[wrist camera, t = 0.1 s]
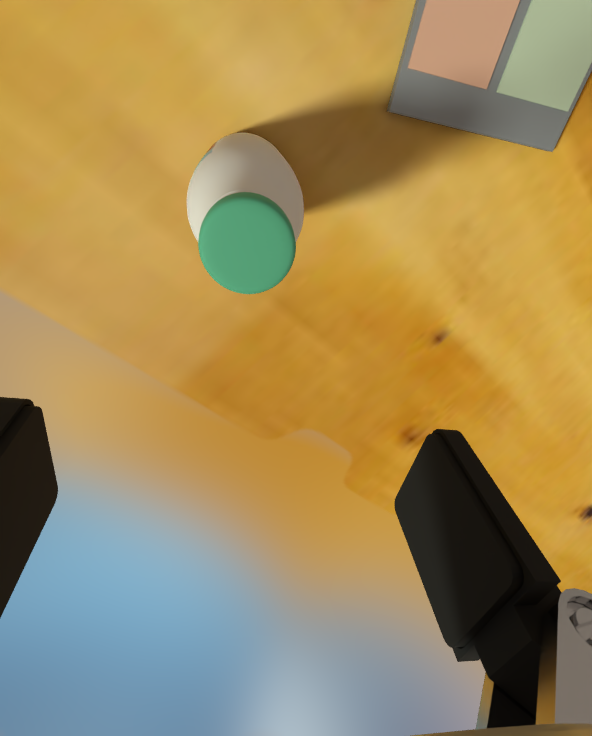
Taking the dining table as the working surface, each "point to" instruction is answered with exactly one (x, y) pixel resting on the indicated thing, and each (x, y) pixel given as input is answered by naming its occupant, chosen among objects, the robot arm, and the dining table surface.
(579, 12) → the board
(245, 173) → the milk bottle
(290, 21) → the dining table surface
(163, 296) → the dining table surface
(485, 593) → the robot arm
